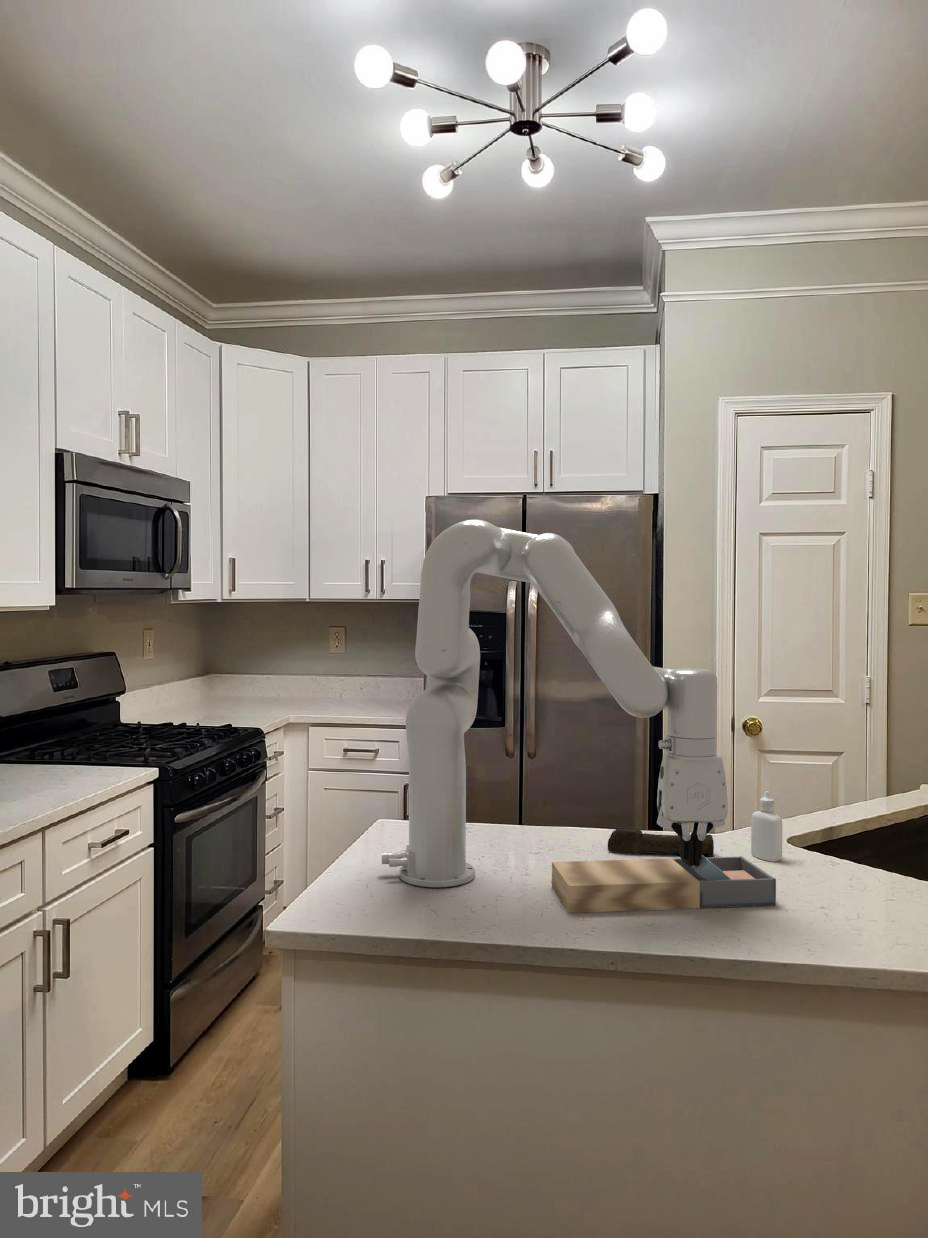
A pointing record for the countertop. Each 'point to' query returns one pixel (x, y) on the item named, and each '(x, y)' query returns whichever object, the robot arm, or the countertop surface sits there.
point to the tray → (735, 885)
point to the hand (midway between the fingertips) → (690, 863)
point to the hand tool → (651, 843)
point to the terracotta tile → (738, 875)
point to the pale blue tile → (709, 870)
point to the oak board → (624, 885)
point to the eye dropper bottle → (766, 831)
